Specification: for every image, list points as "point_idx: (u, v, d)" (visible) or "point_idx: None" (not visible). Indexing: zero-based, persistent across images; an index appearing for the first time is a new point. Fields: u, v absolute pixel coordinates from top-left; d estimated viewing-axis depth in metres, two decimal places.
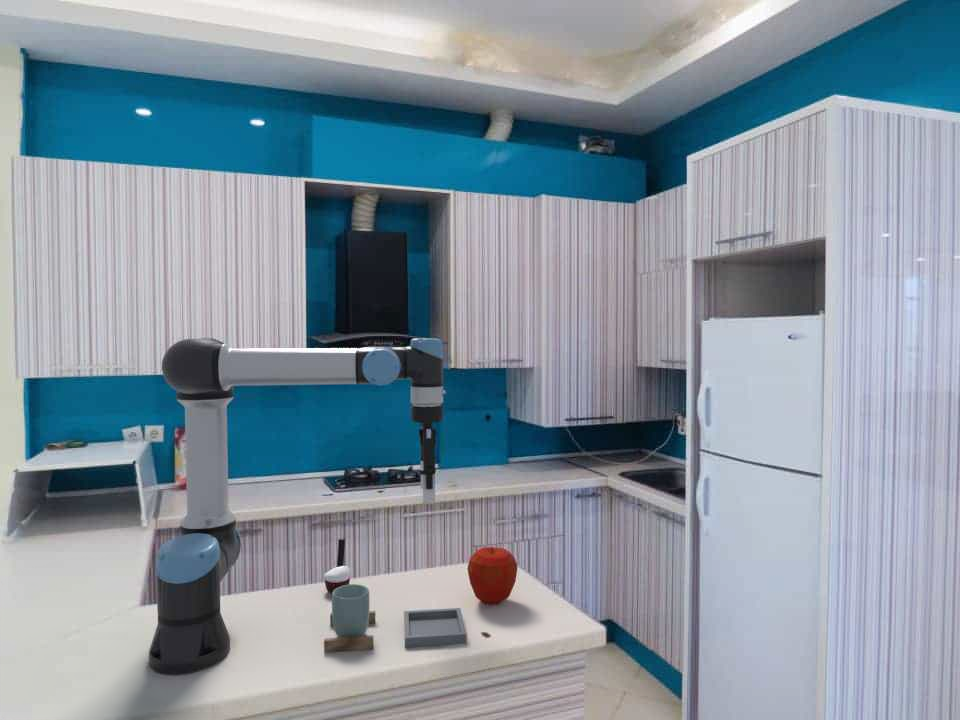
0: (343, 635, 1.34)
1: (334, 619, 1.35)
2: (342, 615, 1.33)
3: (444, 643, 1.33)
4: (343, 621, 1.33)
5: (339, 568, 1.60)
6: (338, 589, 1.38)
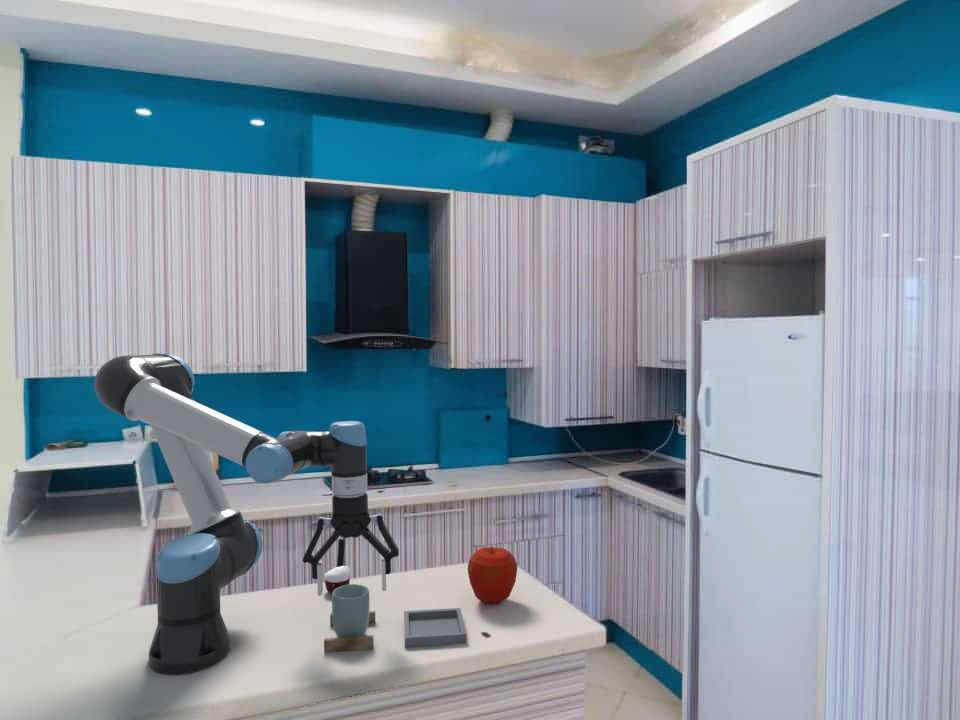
0: (343, 635, 1.34)
1: (334, 619, 1.35)
2: (342, 615, 1.33)
3: (444, 643, 1.33)
4: (343, 621, 1.33)
5: (339, 568, 1.60)
6: (338, 589, 1.38)
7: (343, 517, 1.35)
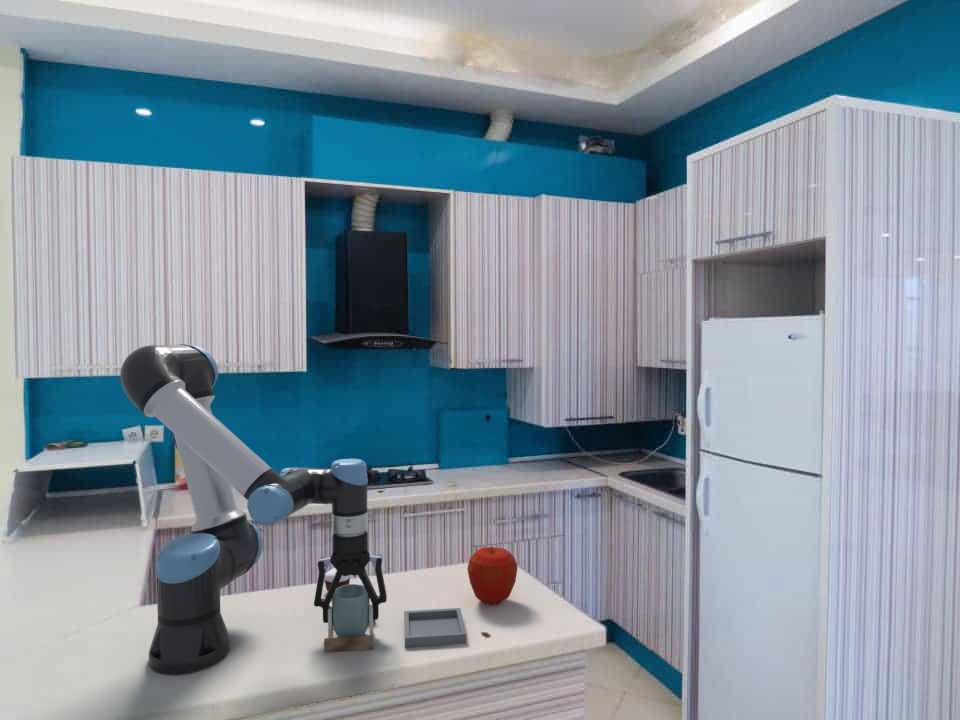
0: (343, 635, 1.34)
1: (334, 619, 1.35)
2: (342, 615, 1.33)
3: (444, 643, 1.33)
4: (343, 621, 1.33)
5: None
6: (338, 589, 1.38)
7: (341, 553, 1.35)
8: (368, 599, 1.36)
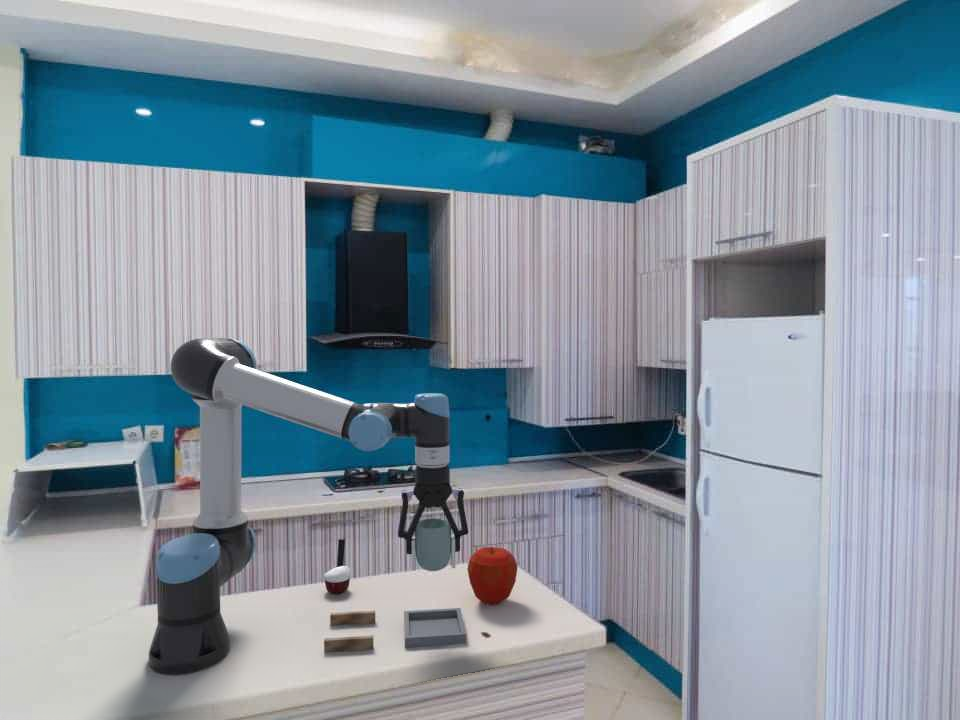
0: (427, 565, 1.35)
1: (418, 550, 1.36)
2: (426, 545, 1.35)
3: (444, 643, 1.33)
4: (428, 551, 1.35)
5: (339, 568, 1.60)
6: (419, 522, 1.40)
7: (424, 485, 1.37)
8: (450, 531, 1.38)
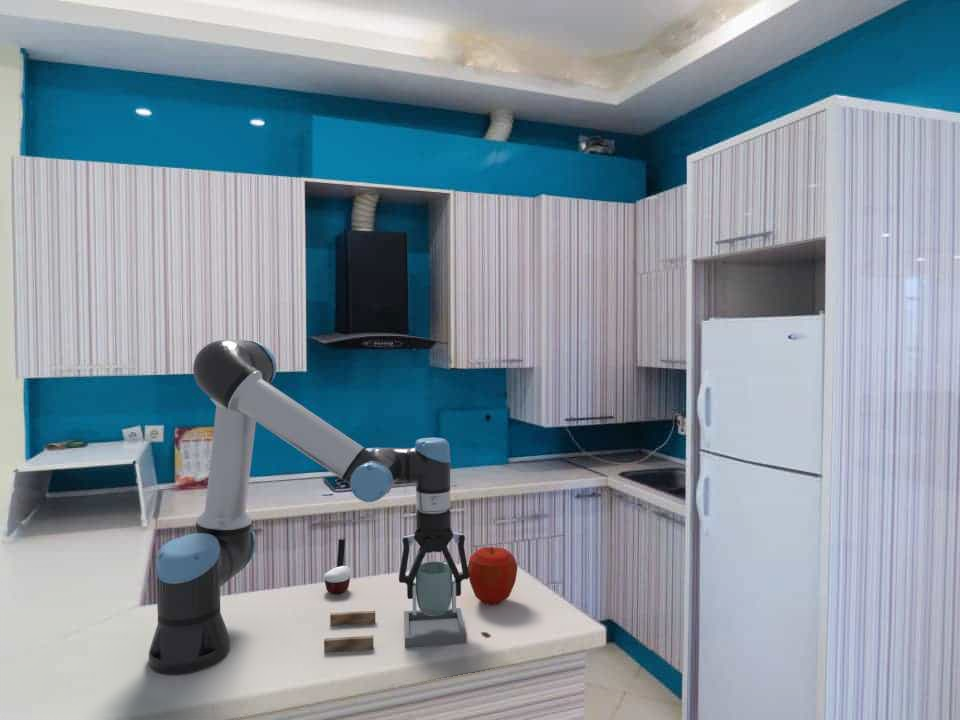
0: (428, 610, 1.36)
1: (419, 595, 1.37)
2: (427, 591, 1.35)
3: (444, 643, 1.33)
4: (429, 596, 1.35)
5: (339, 568, 1.60)
6: (420, 566, 1.40)
7: (425, 530, 1.37)
8: (451, 575, 1.39)
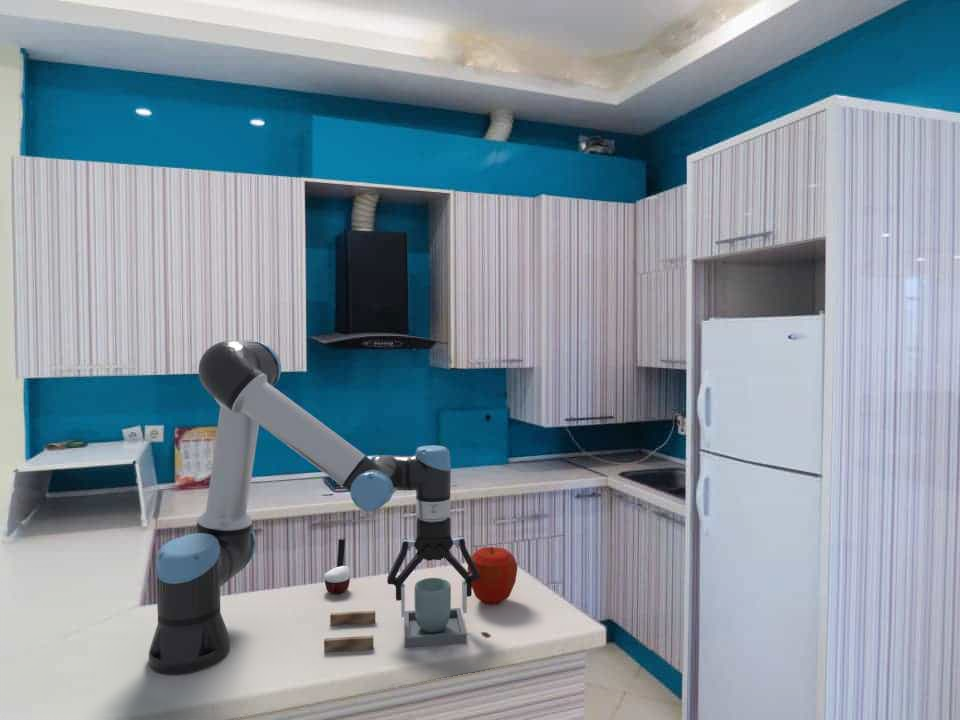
0: (426, 627, 1.36)
1: (417, 612, 1.37)
2: (426, 608, 1.35)
3: (444, 643, 1.33)
4: (427, 614, 1.35)
5: (339, 568, 1.60)
6: (419, 583, 1.41)
7: (427, 540, 1.37)
8: (450, 592, 1.39)
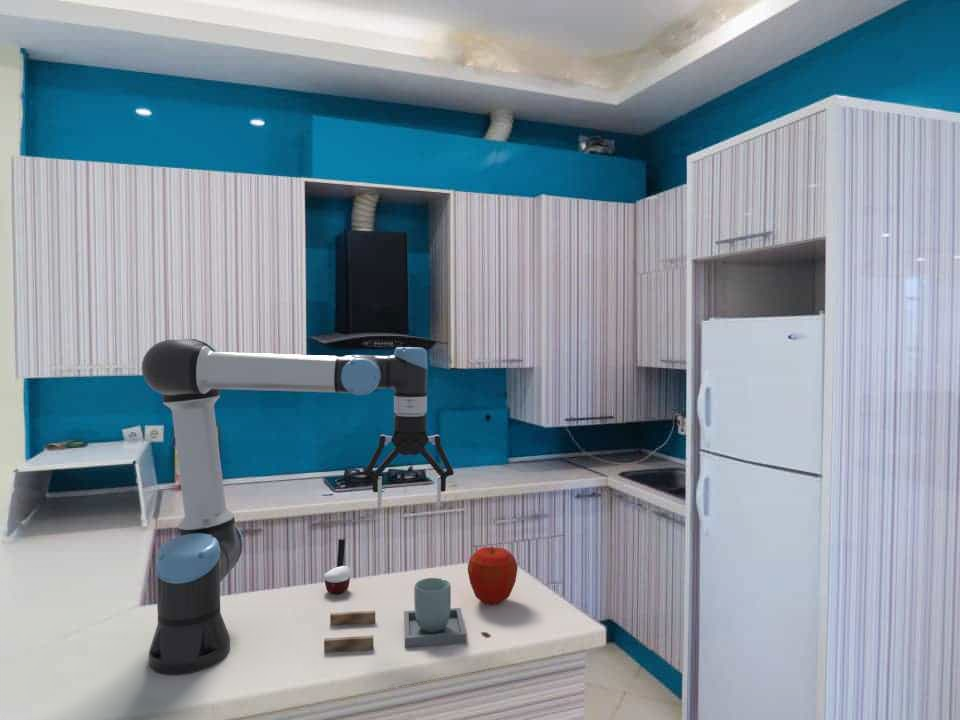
0: (426, 627, 1.36)
1: (417, 612, 1.37)
2: (425, 608, 1.35)
3: (444, 643, 1.33)
4: (427, 614, 1.35)
5: (339, 568, 1.60)
6: (419, 583, 1.41)
7: (403, 435, 1.44)
8: (450, 592, 1.39)
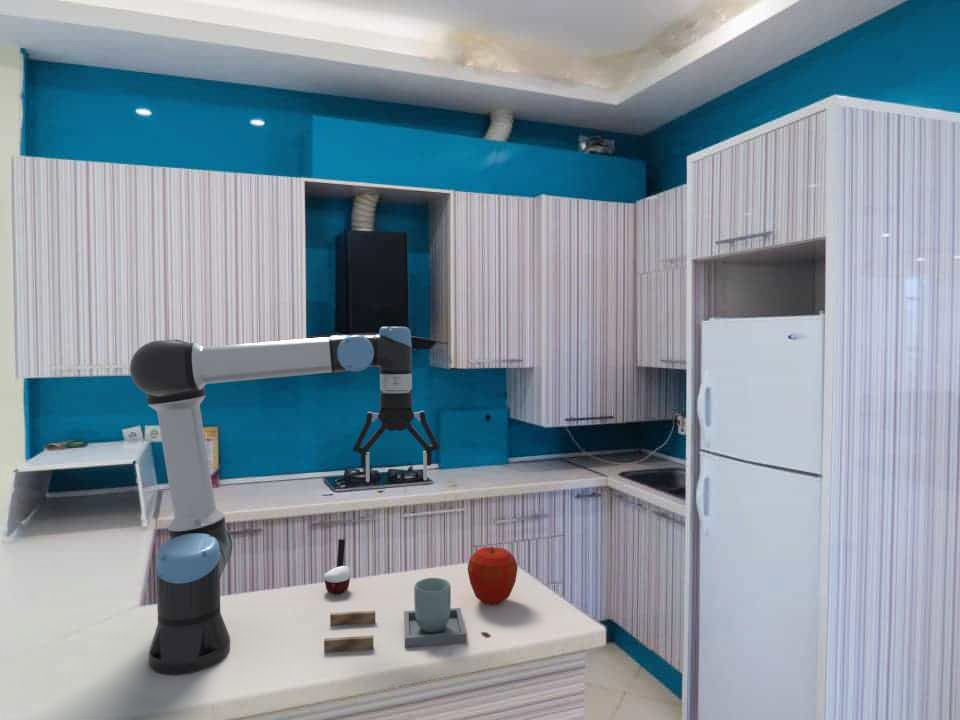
0: (426, 627, 1.36)
1: (417, 612, 1.37)
2: (425, 608, 1.35)
3: (444, 643, 1.33)
4: (427, 614, 1.35)
5: (339, 568, 1.60)
6: (419, 583, 1.41)
7: (390, 412, 1.49)
8: (450, 592, 1.39)
